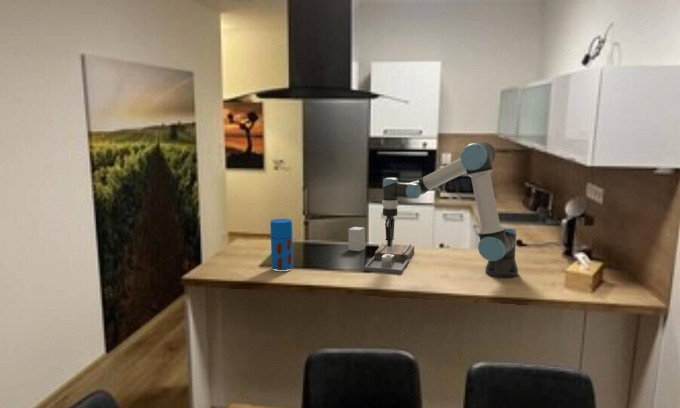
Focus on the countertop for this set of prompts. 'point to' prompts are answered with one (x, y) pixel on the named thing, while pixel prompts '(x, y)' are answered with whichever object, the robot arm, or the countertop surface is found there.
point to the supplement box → (356, 238)
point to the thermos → (281, 244)
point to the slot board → (396, 251)
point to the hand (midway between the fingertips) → (389, 252)
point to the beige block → (387, 261)
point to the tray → (376, 266)
